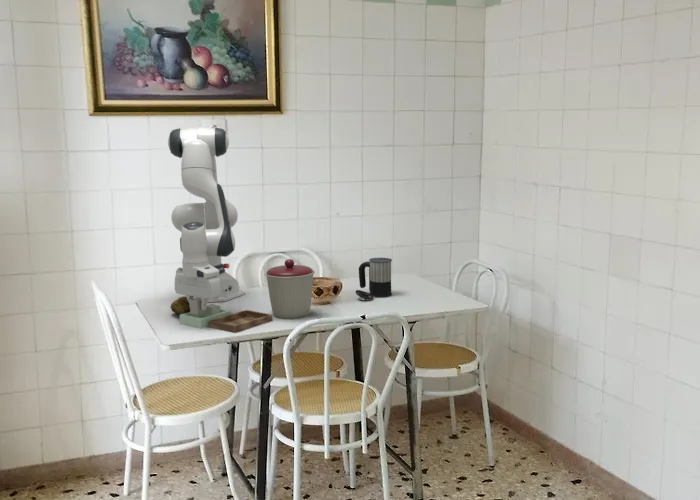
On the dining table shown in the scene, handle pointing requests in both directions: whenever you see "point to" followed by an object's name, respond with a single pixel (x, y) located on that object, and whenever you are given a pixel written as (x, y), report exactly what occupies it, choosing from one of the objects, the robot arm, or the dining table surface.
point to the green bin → (201, 318)
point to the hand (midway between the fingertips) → (198, 308)
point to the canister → (290, 289)
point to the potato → (181, 305)
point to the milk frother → (376, 278)
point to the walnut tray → (240, 321)
